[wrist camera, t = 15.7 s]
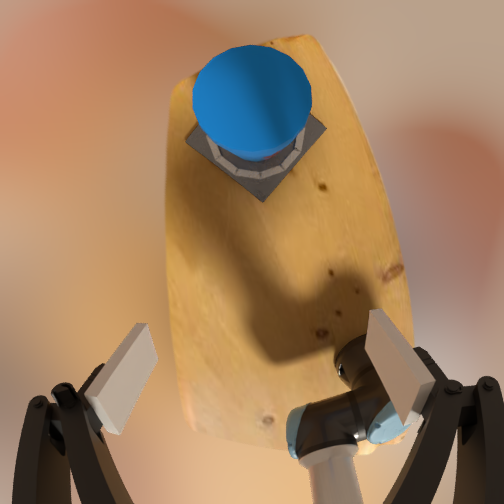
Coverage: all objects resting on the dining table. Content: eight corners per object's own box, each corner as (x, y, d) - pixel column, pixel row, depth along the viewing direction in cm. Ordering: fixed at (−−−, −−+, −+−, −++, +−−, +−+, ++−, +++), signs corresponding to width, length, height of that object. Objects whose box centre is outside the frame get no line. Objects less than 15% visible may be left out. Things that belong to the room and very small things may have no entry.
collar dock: (325, 129, 44) (328, 127, 42) (262, 202, 49) (263, 203, 46) (248, 70, 41) (248, 65, 39) (186, 142, 46) (182, 141, 43)
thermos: (245, 173, 46) (229, 177, 23) (213, 123, 44) (168, 82, 20) (298, 143, 44) (337, 117, 21) (266, 93, 42) (272, 27, 18)
